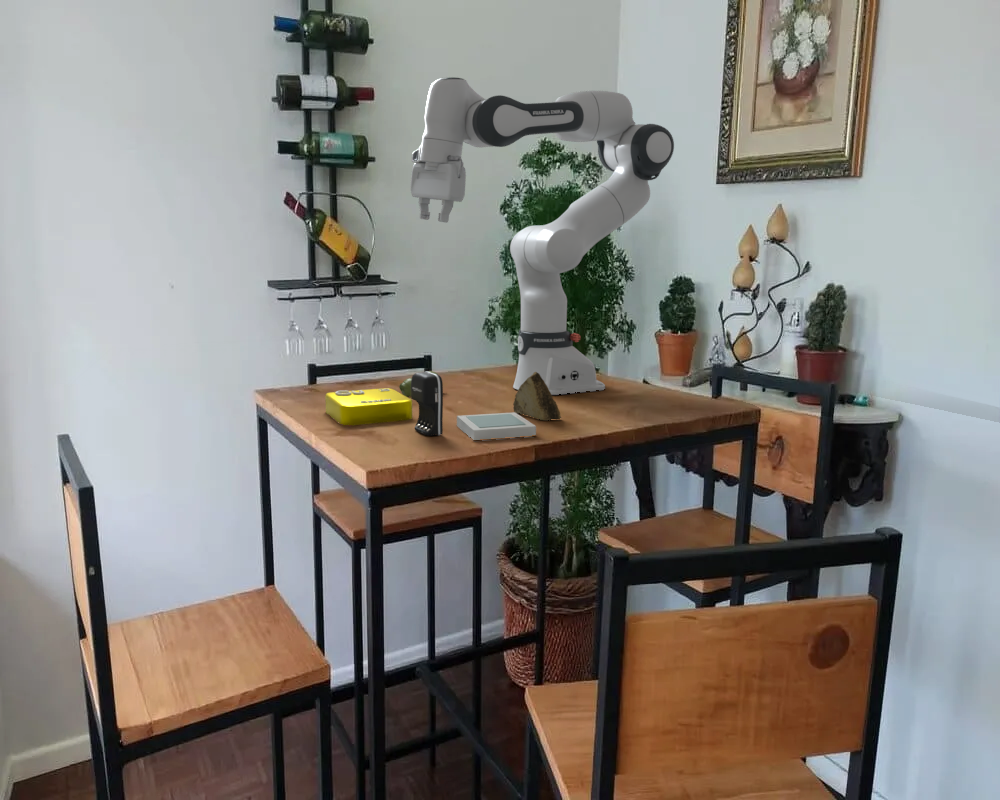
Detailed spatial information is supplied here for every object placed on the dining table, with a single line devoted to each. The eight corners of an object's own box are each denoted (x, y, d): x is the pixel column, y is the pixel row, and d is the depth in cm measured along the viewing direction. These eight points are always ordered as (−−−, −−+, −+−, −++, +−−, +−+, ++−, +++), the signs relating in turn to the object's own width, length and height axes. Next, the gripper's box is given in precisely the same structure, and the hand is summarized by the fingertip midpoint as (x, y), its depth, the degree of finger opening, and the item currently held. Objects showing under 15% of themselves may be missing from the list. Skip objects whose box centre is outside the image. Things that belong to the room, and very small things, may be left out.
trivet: (514, 422, 156) (515, 411, 155) (535, 436, 145) (536, 425, 144) (456, 425, 152) (456, 415, 152) (473, 441, 141) (473, 429, 141)
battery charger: (408, 430, 148) (408, 371, 146) (426, 428, 150) (426, 369, 148) (425, 438, 143) (425, 377, 140) (443, 435, 145) (443, 375, 142)
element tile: (342, 428, 151) (341, 404, 150) (323, 412, 164) (322, 390, 163) (415, 421, 158) (415, 398, 157) (391, 406, 171) (391, 385, 170)
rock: (499, 401, 164) (510, 404, 155) (522, 368, 165) (535, 369, 155) (539, 430, 167) (552, 435, 157) (561, 397, 167) (576, 400, 158)
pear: (442, 371, 181) (402, 381, 177) (446, 392, 183) (406, 403, 179) (434, 367, 186) (394, 376, 182) (437, 388, 188) (398, 398, 184)
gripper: (476, 158, 162) (468, 225, 165) (433, 158, 179) (426, 219, 182) (449, 153, 159) (441, 222, 162) (408, 153, 176) (402, 216, 179)
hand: (433, 220), depth 172 cm, fingers open, 8 cm apart
